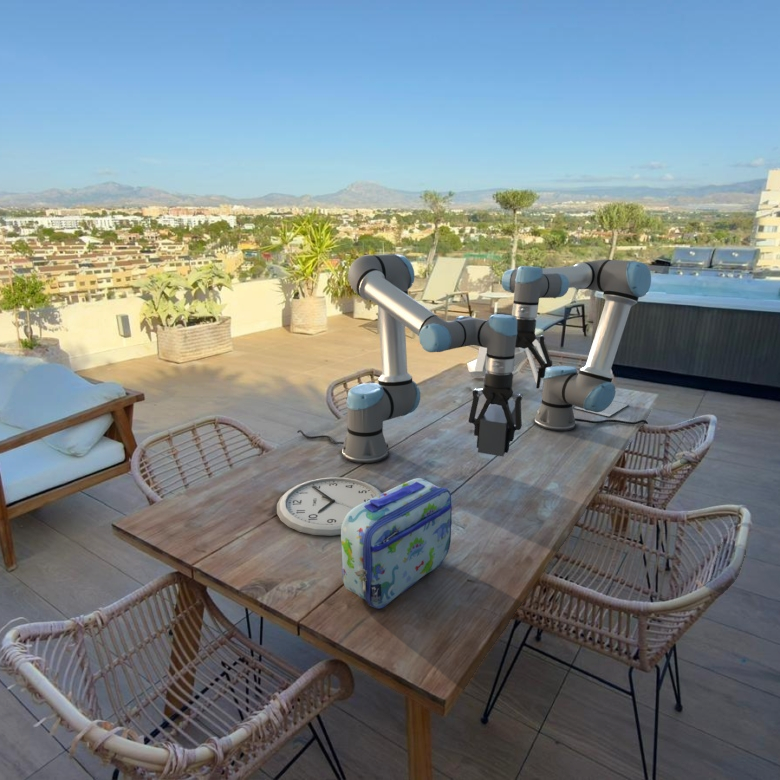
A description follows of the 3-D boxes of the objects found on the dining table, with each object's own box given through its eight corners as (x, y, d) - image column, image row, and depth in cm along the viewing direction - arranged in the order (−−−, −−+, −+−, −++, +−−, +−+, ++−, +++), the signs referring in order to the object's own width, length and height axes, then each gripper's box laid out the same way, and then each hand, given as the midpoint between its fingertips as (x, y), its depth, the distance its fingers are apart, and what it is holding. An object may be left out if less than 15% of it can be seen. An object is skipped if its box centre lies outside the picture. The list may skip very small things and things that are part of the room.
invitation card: (608, 416, 214) (573, 407, 224) (608, 416, 214) (573, 408, 224) (628, 404, 229) (594, 396, 238) (628, 405, 229) (594, 397, 238)
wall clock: (392, 527, 129) (268, 531, 127) (391, 533, 130) (269, 537, 127) (383, 473, 158) (282, 475, 155) (383, 478, 158) (282, 480, 156)
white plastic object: (488, 419, 266) (468, 396, 241) (469, 346, 288) (449, 319, 263) (559, 395, 254) (545, 368, 229) (533, 321, 276) (519, 290, 251)
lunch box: (370, 622, 101) (370, 527, 94) (335, 595, 108) (333, 505, 102) (455, 565, 118) (460, 481, 112) (420, 544, 125) (423, 465, 119)
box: (492, 427, 168) (495, 397, 165) (515, 430, 165) (518, 400, 162) (477, 452, 149) (480, 419, 146) (503, 456, 146) (506, 423, 143)
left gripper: (459, 370, 144) (455, 447, 150) (535, 379, 136) (526, 459, 143) (466, 364, 150) (461, 438, 157) (538, 372, 143) (530, 449, 150)
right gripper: (481, 315, 162) (475, 381, 168) (565, 323, 153) (555, 393, 159) (486, 312, 169) (480, 376, 174) (567, 320, 160) (557, 387, 166)
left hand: (492, 448), depth 150 cm, fingers closed on box, 7 cm apart
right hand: (516, 384), depth 167 cm, fingers open, 13 cm apart
